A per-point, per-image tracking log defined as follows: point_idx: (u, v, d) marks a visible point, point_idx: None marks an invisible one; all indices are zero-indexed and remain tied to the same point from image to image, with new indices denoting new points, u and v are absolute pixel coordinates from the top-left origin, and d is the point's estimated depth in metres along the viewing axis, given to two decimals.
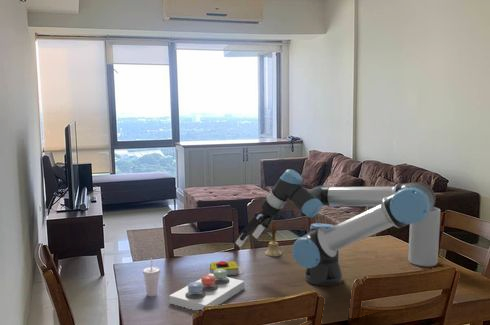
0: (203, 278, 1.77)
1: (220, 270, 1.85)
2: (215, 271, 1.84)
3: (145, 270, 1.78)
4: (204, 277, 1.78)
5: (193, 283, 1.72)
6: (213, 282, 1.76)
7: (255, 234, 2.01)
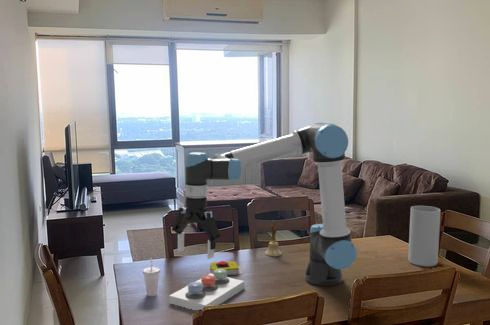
0: (203, 278, 1.77)
1: (220, 270, 1.85)
2: (215, 271, 1.84)
3: (145, 270, 1.78)
4: (204, 277, 1.78)
5: (193, 283, 1.72)
6: (213, 282, 1.76)
7: (181, 247, 1.74)
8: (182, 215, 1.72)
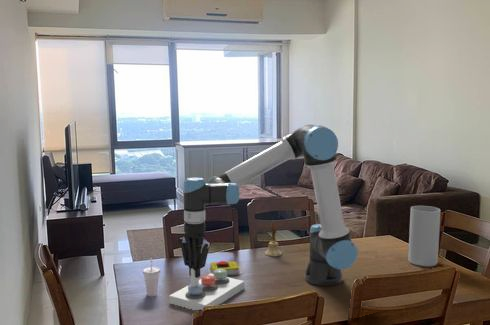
0: (203, 278, 1.77)
1: (220, 270, 1.85)
2: (215, 271, 1.84)
3: (145, 270, 1.78)
4: (204, 277, 1.78)
5: None
6: (213, 282, 1.76)
7: None
8: (185, 245, 1.71)
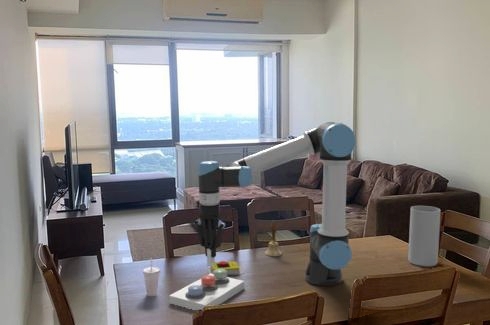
0: (203, 278, 1.77)
1: (220, 270, 1.85)
2: (215, 271, 1.84)
3: (145, 270, 1.78)
4: (204, 277, 1.78)
5: (193, 286, 1.72)
6: (213, 282, 1.76)
7: None
8: (201, 226, 1.78)
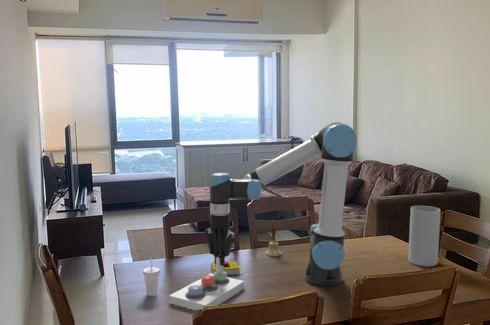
0: (203, 278, 1.77)
1: None
2: (215, 273, 1.84)
3: (145, 270, 1.78)
4: (204, 277, 1.78)
5: (193, 286, 1.72)
6: (213, 282, 1.76)
7: None
8: (211, 235, 1.85)
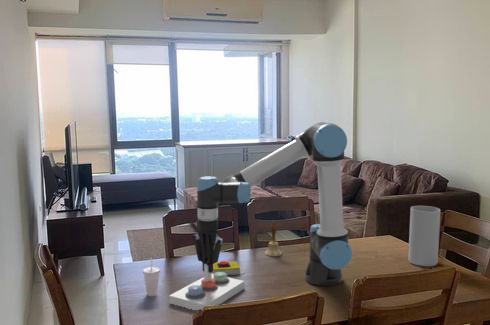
0: (203, 281, 1.77)
1: (220, 273, 1.85)
2: (215, 274, 1.84)
3: (145, 270, 1.78)
4: None
5: (193, 286, 1.72)
6: (213, 285, 1.76)
7: None
8: (198, 241, 1.78)
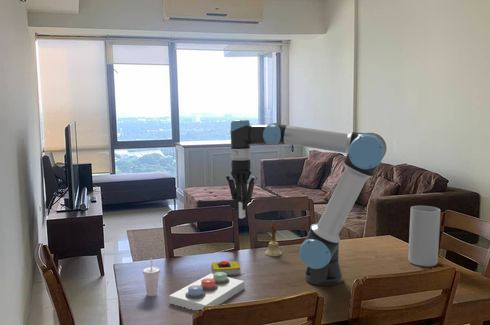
0: (203, 281, 1.77)
1: (220, 273, 1.85)
2: (215, 274, 1.84)
3: (145, 270, 1.78)
4: (204, 280, 1.78)
5: (193, 286, 1.72)
6: (213, 285, 1.76)
7: None
8: (232, 182, 1.90)
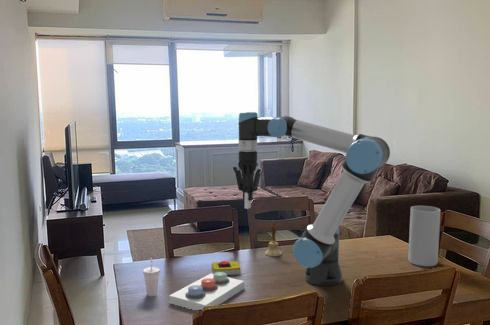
0: (203, 281, 1.77)
1: (220, 273, 1.85)
2: (215, 274, 1.84)
3: (145, 270, 1.78)
4: (204, 280, 1.78)
5: (193, 286, 1.72)
6: (213, 285, 1.76)
7: None
8: (239, 172, 1.94)
